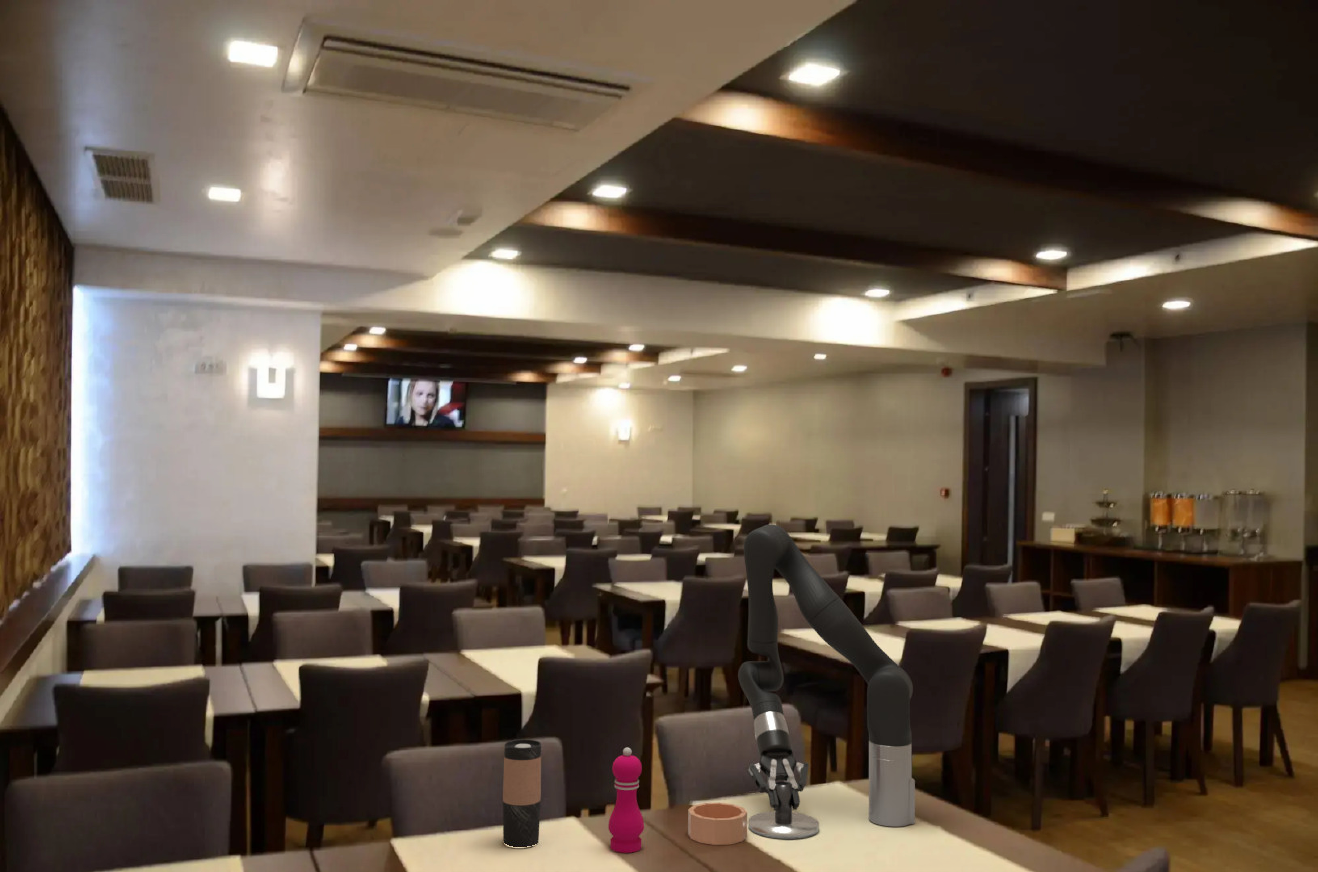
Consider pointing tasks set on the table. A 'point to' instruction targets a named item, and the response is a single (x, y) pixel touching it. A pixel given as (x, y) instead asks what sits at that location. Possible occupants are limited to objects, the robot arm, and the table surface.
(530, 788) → the travel mug
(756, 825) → the steel lid
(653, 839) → the table surface
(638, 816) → the pepper mill
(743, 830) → the terracotta bowl
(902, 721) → the robot arm
